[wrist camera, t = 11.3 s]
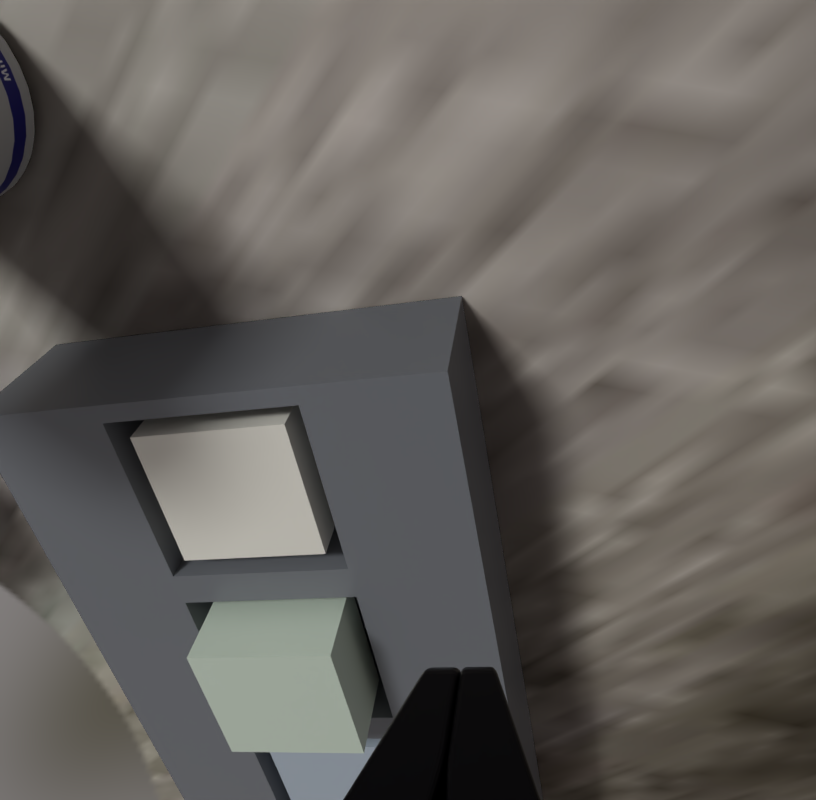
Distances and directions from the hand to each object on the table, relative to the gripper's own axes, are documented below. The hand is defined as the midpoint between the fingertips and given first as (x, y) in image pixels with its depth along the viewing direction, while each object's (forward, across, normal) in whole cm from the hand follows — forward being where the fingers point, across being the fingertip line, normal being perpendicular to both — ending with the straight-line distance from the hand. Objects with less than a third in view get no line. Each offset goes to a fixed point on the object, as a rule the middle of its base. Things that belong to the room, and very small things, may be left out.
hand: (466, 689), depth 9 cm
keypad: (+12, +7, +12) cm, 18 cm away
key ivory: (+11, +7, +3) cm, 13 cm away
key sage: (+9, +7, +9) cm, 15 cm away
